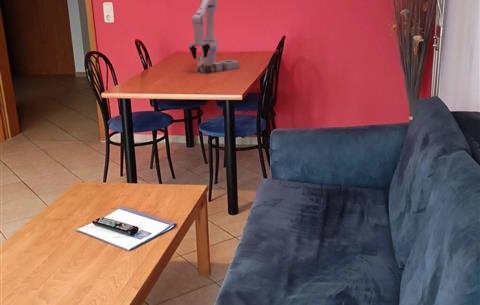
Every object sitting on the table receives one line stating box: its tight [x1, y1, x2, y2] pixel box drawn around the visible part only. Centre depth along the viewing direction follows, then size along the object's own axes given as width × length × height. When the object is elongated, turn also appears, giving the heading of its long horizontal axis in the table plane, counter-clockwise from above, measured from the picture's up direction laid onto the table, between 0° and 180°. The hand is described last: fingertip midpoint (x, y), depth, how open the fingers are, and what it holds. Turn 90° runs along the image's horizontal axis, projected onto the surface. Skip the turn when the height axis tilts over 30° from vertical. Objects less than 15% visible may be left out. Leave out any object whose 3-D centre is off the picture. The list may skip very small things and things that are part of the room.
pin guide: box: [211, 61, 223, 71], centre depth 348 cm, size 6×4×4 cm
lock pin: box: [204, 65, 216, 72], centre depth 347 cm, size 3×11×4 cm, turn 127°
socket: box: [218, 59, 240, 71], centre depth 353 cm, size 9×9×4 cm
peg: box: [196, 56, 205, 71], centre depth 348 cm, size 4×4×8 cm
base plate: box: [192, 67, 242, 75], centre depth 351 cm, size 16×26×1 cm, turn 127°
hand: (200, 58), depth 347 cm, fingers open, 7 cm apart
